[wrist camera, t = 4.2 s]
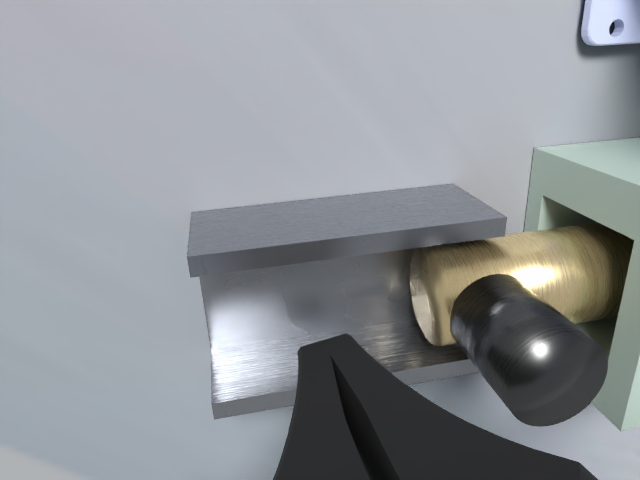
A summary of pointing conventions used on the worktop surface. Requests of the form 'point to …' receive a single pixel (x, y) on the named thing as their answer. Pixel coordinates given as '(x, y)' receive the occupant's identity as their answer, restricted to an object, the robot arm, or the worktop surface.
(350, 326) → the grey u channel
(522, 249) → the sliding bolt
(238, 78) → the worktop surface
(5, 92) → the worktop surface
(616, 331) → the socket
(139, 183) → the worktop surface
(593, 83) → the worktop surface
